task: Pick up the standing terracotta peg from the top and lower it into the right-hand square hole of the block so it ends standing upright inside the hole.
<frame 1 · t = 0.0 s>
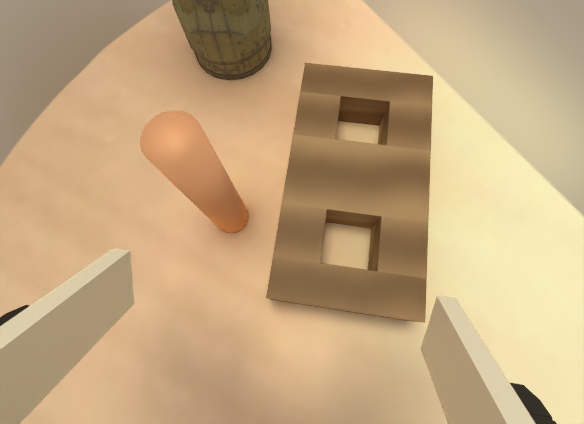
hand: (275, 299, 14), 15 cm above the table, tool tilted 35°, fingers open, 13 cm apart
thermos: (234, 49, 37), on the table
hole block: (350, 192, 31), on the table
peg: (231, 216, 31), on the table
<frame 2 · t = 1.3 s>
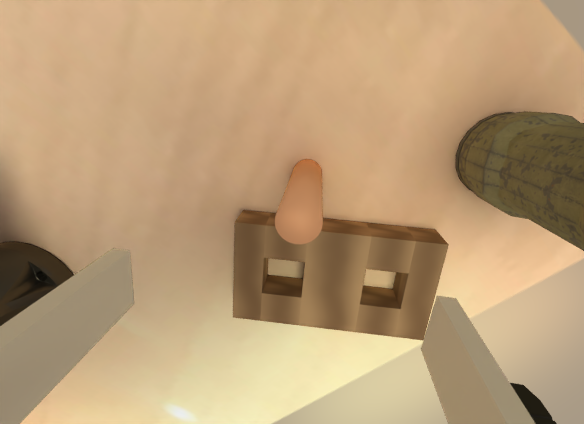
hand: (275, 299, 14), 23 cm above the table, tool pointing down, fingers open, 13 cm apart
thermos: (497, 156, 34), on the table
hole block: (331, 265, 39), on the table
peg: (307, 173, 36), on the table
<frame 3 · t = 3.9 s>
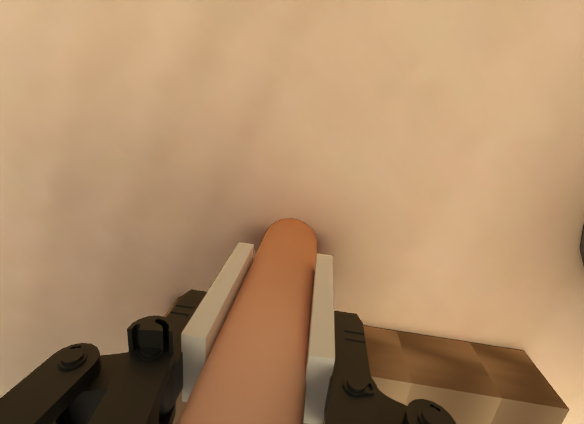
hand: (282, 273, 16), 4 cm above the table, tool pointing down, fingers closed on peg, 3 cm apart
hole block: (331, 392, 23), on the table
peg: (290, 243, 19), on the table, touching gripper
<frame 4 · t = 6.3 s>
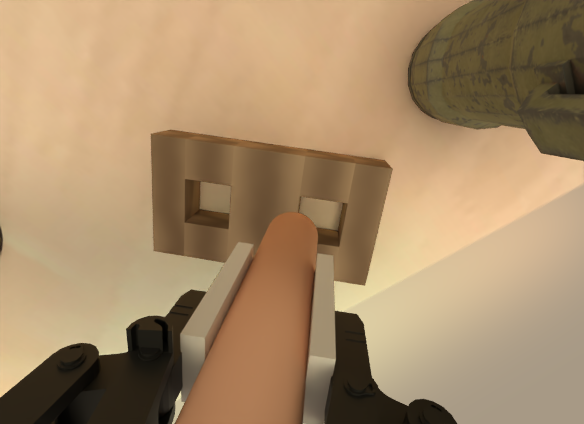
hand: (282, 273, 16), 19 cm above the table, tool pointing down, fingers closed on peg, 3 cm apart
thermos: (455, 72, 29), on the table
hole block: (269, 200, 35), on the table
peg: (292, 236, 20), point 14 cm above the table, touching gripper
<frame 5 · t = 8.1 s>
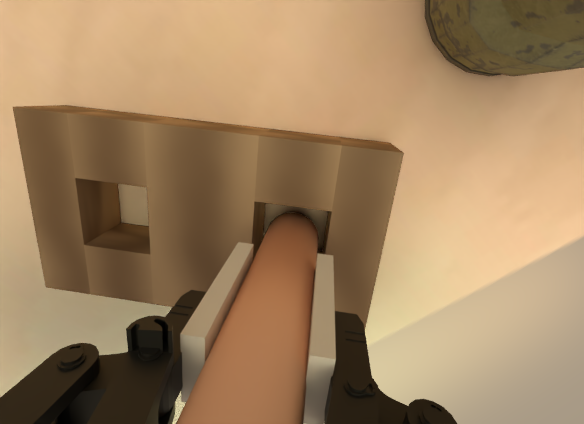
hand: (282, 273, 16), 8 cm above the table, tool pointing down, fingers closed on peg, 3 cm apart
hole block: (220, 208, 23), on the table
peg: (292, 236, 20), point 3 cm above the table, touching gripper
when the fingers open (5 cm above the table, at t = 8.8 s): peg stays where it is, resting in hole block.
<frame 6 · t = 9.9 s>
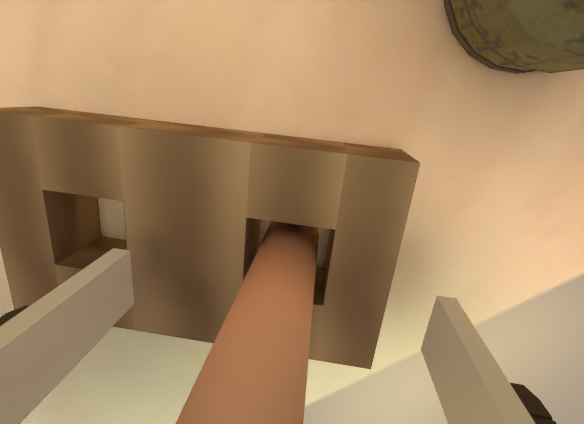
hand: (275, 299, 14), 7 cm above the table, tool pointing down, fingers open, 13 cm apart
hole block: (210, 221, 21), on the table
peg: (293, 233, 21), resting in hole block
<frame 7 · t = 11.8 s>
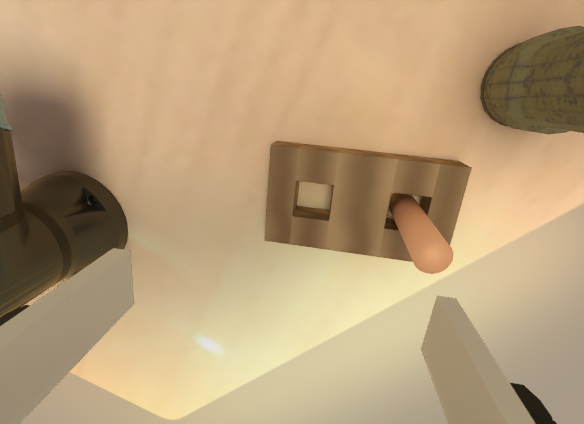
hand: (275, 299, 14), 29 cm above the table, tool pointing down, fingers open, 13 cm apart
thermos: (521, 86, 35), on the table
hole block: (357, 197, 42), on the table
peg: (401, 203, 41), resting in hole block
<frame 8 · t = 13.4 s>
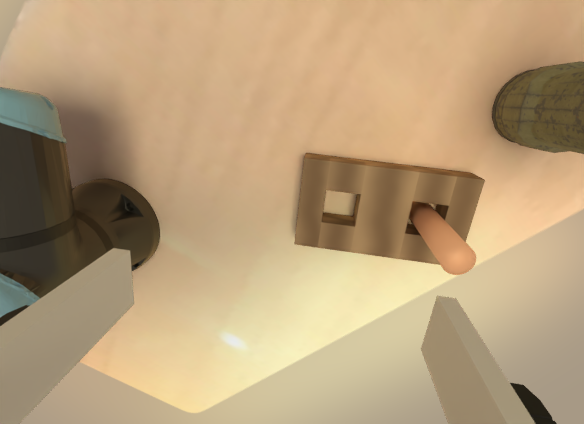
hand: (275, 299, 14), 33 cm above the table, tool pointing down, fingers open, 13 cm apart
thermos: (528, 107, 40), on the table
hole block: (378, 204, 46), on the table
peg: (418, 209, 45), resting in hole block
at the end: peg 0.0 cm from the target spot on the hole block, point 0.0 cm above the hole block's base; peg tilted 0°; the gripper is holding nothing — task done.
